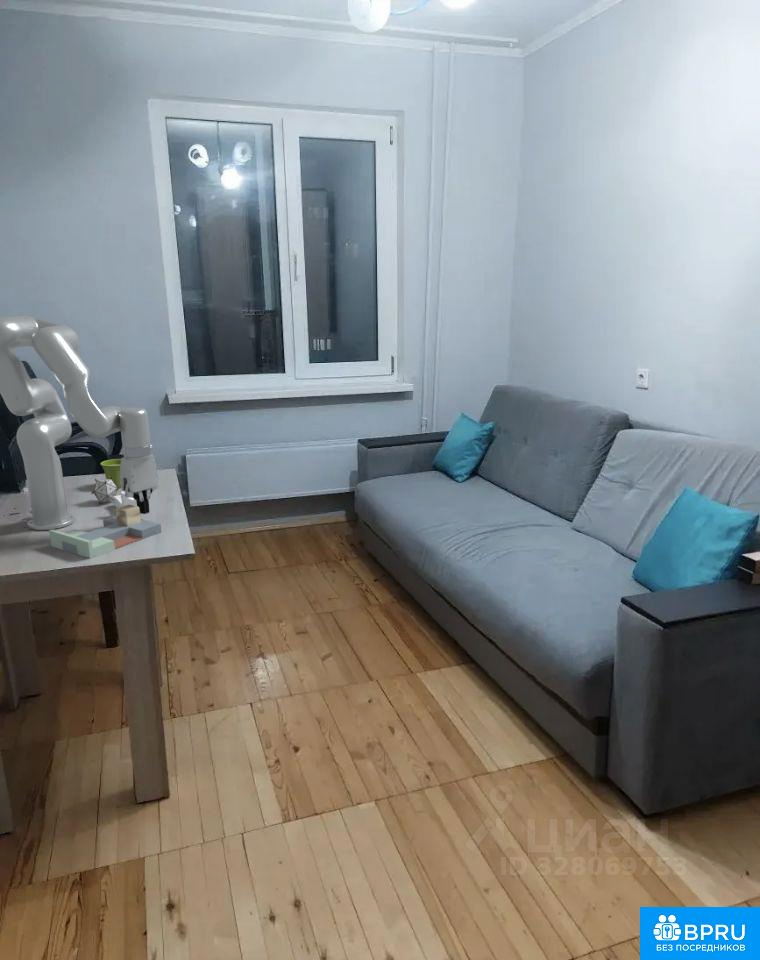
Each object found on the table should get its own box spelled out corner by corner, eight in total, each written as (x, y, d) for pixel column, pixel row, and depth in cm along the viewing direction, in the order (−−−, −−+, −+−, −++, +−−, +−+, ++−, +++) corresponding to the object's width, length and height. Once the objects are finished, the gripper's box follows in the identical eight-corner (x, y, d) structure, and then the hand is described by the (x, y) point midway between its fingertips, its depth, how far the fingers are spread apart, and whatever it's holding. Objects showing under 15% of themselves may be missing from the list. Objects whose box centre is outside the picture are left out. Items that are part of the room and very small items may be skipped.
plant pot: (126, 480, 248) (123, 457, 246) (135, 486, 241) (133, 462, 238) (100, 485, 242) (96, 461, 240) (108, 491, 235) (105, 467, 233)
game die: (111, 514, 223) (111, 495, 216) (86, 505, 223) (85, 486, 215) (124, 494, 229) (124, 475, 222) (99, 485, 229) (99, 466, 222)
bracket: (148, 513, 213) (146, 489, 211) (125, 517, 209) (122, 493, 207) (137, 502, 224) (135, 480, 222) (115, 506, 220) (112, 484, 218)
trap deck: (51, 546, 186) (49, 530, 185) (122, 521, 205) (121, 507, 203) (90, 558, 177) (88, 542, 176) (161, 532, 196) (159, 517, 194)
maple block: (117, 523, 196) (115, 508, 194) (130, 519, 199) (129, 504, 198) (127, 526, 193) (126, 511, 192) (140, 521, 197) (139, 506, 196)
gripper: (149, 444, 203) (155, 503, 208) (106, 455, 191) (113, 517, 196) (166, 447, 199) (172, 507, 204) (124, 458, 187) (131, 522, 192)
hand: (143, 512), depth 200 cm, fingers closed
